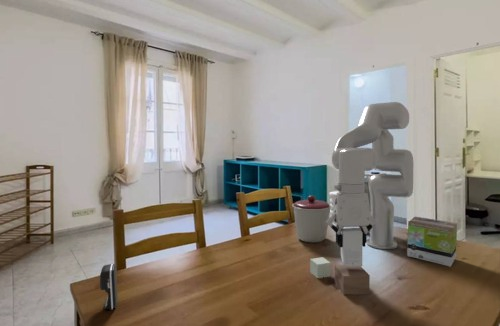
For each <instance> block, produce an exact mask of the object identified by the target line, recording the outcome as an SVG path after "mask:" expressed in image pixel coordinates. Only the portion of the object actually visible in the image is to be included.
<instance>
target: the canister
mask: <svg viewBox="0 0 500 326" xmlns="http://www.w3.org/2000/svg"><path fill="white" fill-rule="evenodd" d="M330 204H331V203H328V202H327V201H324V200H319V199H316V197H315V196H314V195H308V196H307V199H302V200H301V199H300V200H298V201H295V202H294V203H292V205H291V206H292V208H293V215H294V222H295V231H296V235H297V238H298V239H299V240H301V241H303V242H306V243H313V244H314V243H321V242H323V241H325V240H326V239H327V238H326V237H327V234H328V228H329V227H328V226H329V225H328V224H327V223H326V220H327V219H328V218H329V217H330V210H331V205H330Z"/></svg>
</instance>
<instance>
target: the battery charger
mask: <svg viewBox="0 0 500 326" xmlns="http://www.w3.org/2000/svg"><path fill="white" fill-rule="evenodd" d="M117 281H118V280H117V264H116V263H109V264H104V265H103V266H102V267H101V271H100V275H99V289H100V291H105V293H106V294H107V295H108V296H107V298H106V299H105V300H104V305H103V309H104V310H105V309H110V310H114V309H113V308H115V309H116V308H117V303H118V302H117V301H118V285H117V284H118V283H117Z"/></svg>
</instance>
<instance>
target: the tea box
mask: <svg viewBox="0 0 500 326" xmlns="http://www.w3.org/2000/svg"><path fill="white" fill-rule="evenodd" d="M457 233H458V223H457V222H452V221H448V220H447V221H446V220H439V219H433V218H427V217H420V216H414V217H412V218H411V219H410V220H409V221H408V223H407V244H406V246H407V248H406V256H407V257H409V258H414V259H415V258H416V259H419V260H422V261H427V262H431V263H435V264H438V265H442V266H445V267H449V268H451V267H452V265H453V264H454V262H455V260H456V257H457V256H456V255H457V237H458V235H457Z"/></svg>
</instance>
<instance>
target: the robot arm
mask: <svg viewBox="0 0 500 326" xmlns="http://www.w3.org/2000/svg"><path fill="white" fill-rule="evenodd" d="M409 124H410V113H409V111H408V109H407V107H405V105H404V104H402V103H400V102H397V101H391V102H389V101H388V102H377V103H371V104H369V105H366V106H365V108H363V110H362V112H361V115H360V117H359V120H358V123H357V126H356V127H355V128H353V129H350V130H348V132H346V133H344V134H343V135H342V136H340V138H339V139H338V140H337V142H336V144H335V146H334V149H333V151H332V154H331V155H332V156H331V162H332V163H331V164H332V165H333V167H334V168H335V169H337V170H338V183H337V184H336V185H334V191H339V192H338V193H337V195H336V199H335V206H334V214H333V215H332V216H330V215H329V218H328V219H327V220H326V223H327V224H328V226H329V227H330V228H331V229H332V230H333V231H334V233H335V243H336V245H338V247H340V248H341V247H343V235H342V234H341V232H342V230H343V228H344V227H360V230H361V231H362V233H363V235H362V248H365V247H366V244H367V245H368V246H369V247H370V248H371V247H372V248H373V249H379V250H394V249H396V248H398V243H397V242H396V241H395V240H394V233H395V232H394V227H395V226H394V225H395V223H394V221H395V206H394V203H393V201H391V199H390V198H389V197H393V198H405V199H406V198H410V197H412V195H413V193H414V155H413V153H412V151H410V150H409V149H398V148H397V149H395V148H394V136H393V135H392V133H391V132H390V130H403V129H406V128H407V127H408V126H409ZM370 144H371V147H363V146H368V145H370ZM372 170H376V171H378V172H391V173H393V172H395V173H400V174H389V173H377V174H373V175H371V176H370V177H369V183H368V184H369V191H370V207H369V200H368V195H367V193H364V190H365V178H366V176H365V172H369V171H372ZM333 221H335V222H336V223H337V225H336V227H335V226H334V225H333V223H332V222H333ZM369 230H370V233H368V231H369ZM367 234H369V238H368V237H367Z"/></svg>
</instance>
